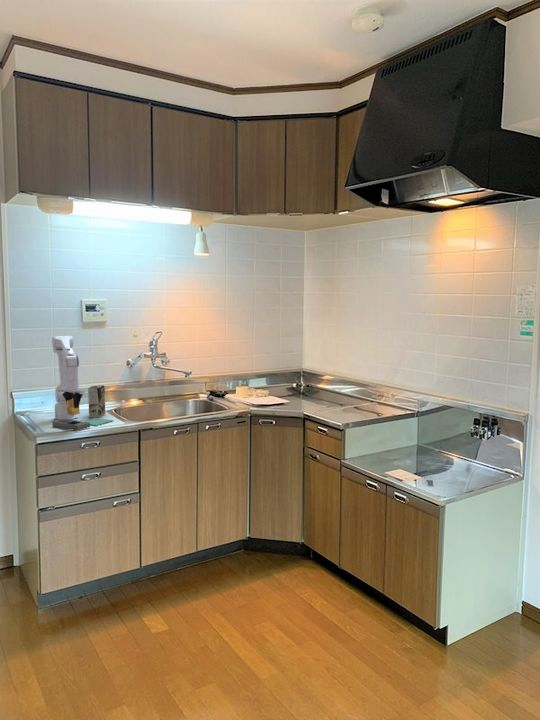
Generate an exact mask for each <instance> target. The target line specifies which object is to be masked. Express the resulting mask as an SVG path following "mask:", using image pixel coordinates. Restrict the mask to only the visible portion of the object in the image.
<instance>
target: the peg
mask: <svg viewBox="0 0 540 720" xmlns="http://www.w3.org/2000/svg"><path fill="white" fill-rule="evenodd" d="M80 412H81V411H80V406H79V407H78V408H75V407H74V401H73V399H71V400H67V414H68V415H74V416H76V415H80V414H81V413H80Z"/></svg>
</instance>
